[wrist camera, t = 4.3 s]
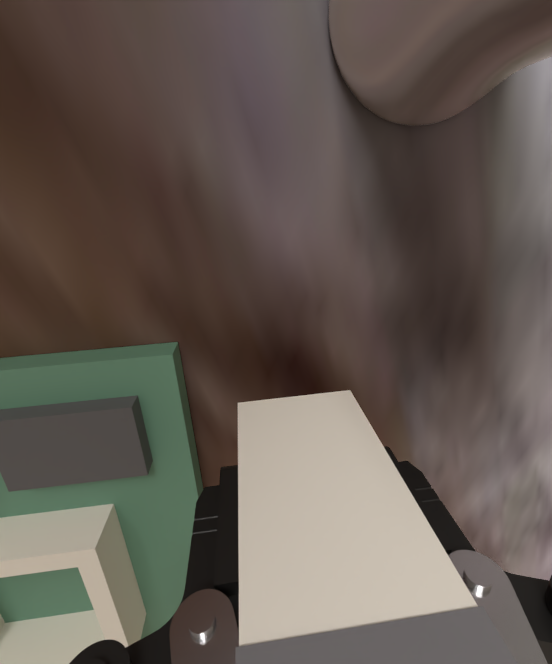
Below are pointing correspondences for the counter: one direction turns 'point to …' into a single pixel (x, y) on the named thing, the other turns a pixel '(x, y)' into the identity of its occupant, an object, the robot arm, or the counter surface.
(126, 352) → the board
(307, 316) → the counter surface
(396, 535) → the plug
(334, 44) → the beer glass
